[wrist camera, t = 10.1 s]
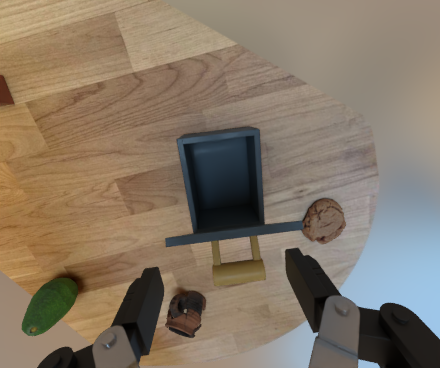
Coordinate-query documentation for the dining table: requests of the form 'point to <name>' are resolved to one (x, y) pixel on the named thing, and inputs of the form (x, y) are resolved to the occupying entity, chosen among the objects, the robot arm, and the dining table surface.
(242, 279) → the lid
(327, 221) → the cookie
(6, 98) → the block
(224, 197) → the chest
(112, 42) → the dining table surface
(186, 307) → the pottery mug
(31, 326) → the avocado
